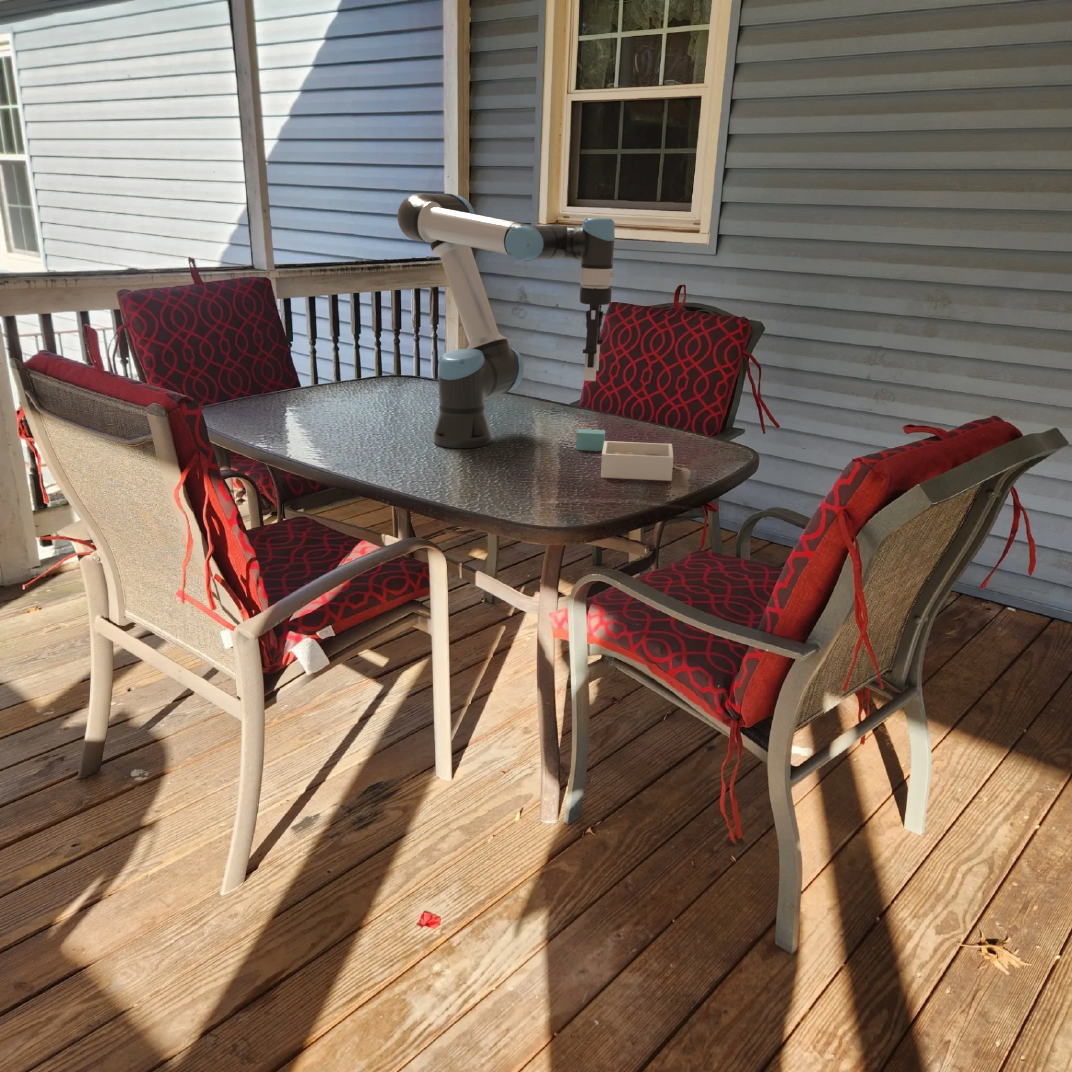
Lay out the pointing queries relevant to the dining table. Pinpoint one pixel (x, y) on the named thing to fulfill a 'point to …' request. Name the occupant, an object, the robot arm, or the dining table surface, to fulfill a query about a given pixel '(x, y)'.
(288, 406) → the dining table surface
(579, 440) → the lid
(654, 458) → the tub
